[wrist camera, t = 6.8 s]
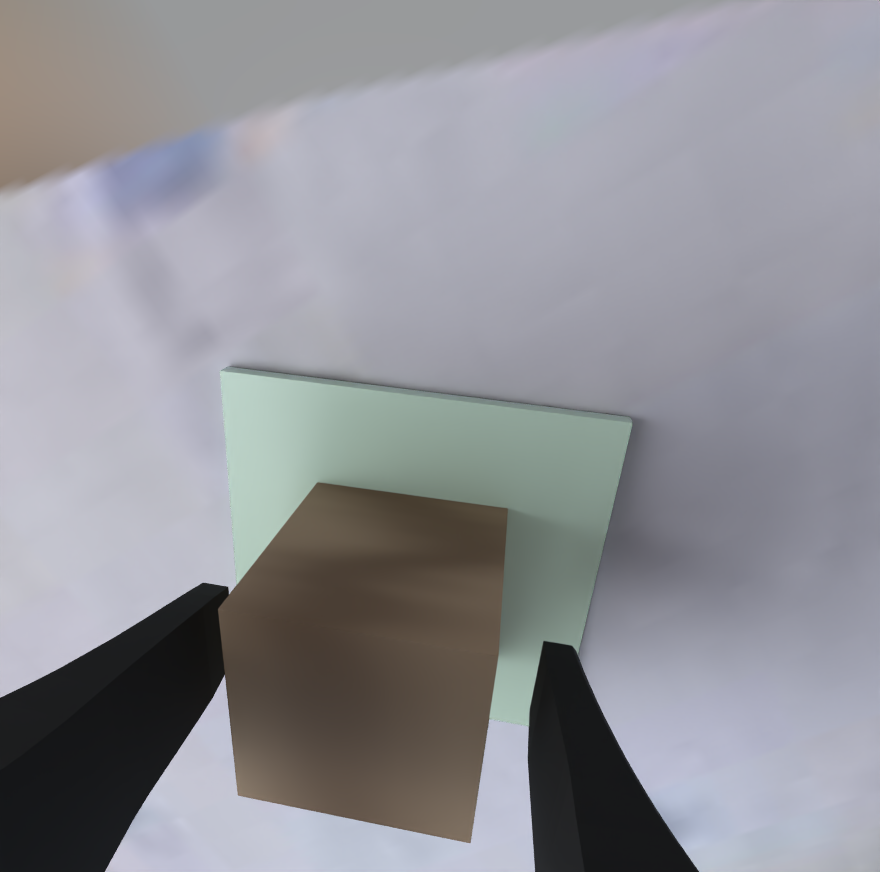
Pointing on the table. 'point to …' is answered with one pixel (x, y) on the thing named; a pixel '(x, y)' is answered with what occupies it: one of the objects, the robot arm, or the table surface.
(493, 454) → the green pad
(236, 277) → the table surface
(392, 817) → the walnut cube
